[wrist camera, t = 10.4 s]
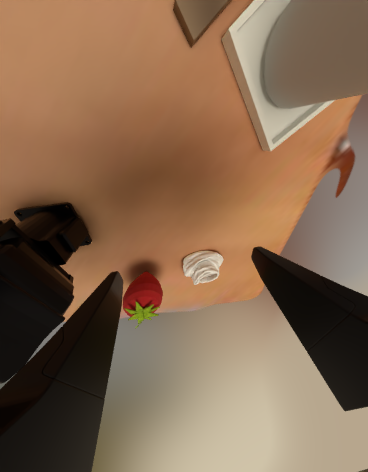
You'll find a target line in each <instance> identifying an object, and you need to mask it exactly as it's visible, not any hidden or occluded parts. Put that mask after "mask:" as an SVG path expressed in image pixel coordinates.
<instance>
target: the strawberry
mask: <svg viewBox="0 0 368 472" xmlns="http://www.w3.org/2000/svg"><path fill="white" fill-rule="evenodd" d="M162 296H163V292H162V288H161V285H160V283H159V281H158V280H157V279H156V278H155V277H154V276H153V275H152V274H150V273H149V272H144V273H142V274H141V275H140V276H138V277H137V278H136V279H135V280H134V281H133V282H132V283H131V284H130V285H129V287H128V289H127V291H126V293H125V295H124V297H123V309H124V311H125V312H126V313H127V315H129V316H130V317H131V318H129V319H128V320H133V319H138V324H139V323H141V321H143V320H144V319H149V320H151V318H149V317H152V316H158V314H155V313H154V312H155V311H156V310H157V309H158V308H160V307H159V306H160V304H161V302H162ZM137 327H138V326H137Z"/></svg>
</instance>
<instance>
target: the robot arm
mask: <svg viewBox="0 0 368 472" xmlns="http://www.w3.org/2000/svg"><path fill="white" fill-rule="evenodd" d="M66 206H68V207H69V208H67V207H66ZM19 212H20V213H21V214H20V213H19ZM14 214H15V215H16V216H17V218H18V219H19V220H20V221H21V222H20V223H18V224H17V225H15V224H16V223H15V222H14V221H13V220H12V219H11V218H9V219H6V220H2V221H1V220H0V383H4V382H6V381H7V380H9V379H10V378H11V377H12V376H13V375H14V376H13V377H12V378H11V379H10V380H9V381H8V382H7V383H6V384H5V385H4V386H3V387H2V388H1V389H0V472H91V471H92V466H93V460H94V455H95V449H96V444H97V438H98V433H99V427H100V422H101V417H102V411H103V405H104V398H105V394H106V389H107V383H108V378H109V372H110V367H111V361H112V356H113V350H114V345H115V339H116V334H117V329H118V323H119V318H120V312H121V306H122V293H123V279H122V277H121V275H120V273H119V272H118V271H115V272H111V273H110V274H109V275H108V276H107V277H106V278H105V280H104V281H103V282H102V283H101V284H100V285H99V286H98V287H97V288H96V289H95V291H94V292H93V293H92V294H91V295H90V296H89V297H88V298H87V299H86V301H85V302H84V303H83V304H82V305H81V306H80V307H79V308H78V309H77V310H76V312H75V313H74V314H73V315H72V316H71V317H70V318H69V319H68V320H67V322H66V323H65V324H64V325H63V327H61V328H60V329H59V330H58V332H56V334H55V335H54V336H53V337H52V338H51V339H50V340H49V341H48V342H47V343H46V344H45V345H44V346H43V348H41V349H40V350H39V352H37V353H36V355H35V356H34V357H33V358H32V359H31V360H30V361H29V362H27V361H28V360H29V359H30V357H31V356H32V355H33V353H34V352H35V350H36V349H37V348H38V346H39V345H40V344H41V343H42V341H43V340H44V339H45V338H46V337H47V336H48V335H49V333H51V332H52V330H54V329H55V328H56V327H57V326H58V325H59V324H60V323H62V322H63V321H64V320H65V317H63V315H64V313H65V312H66V311H67V309H68V308H69V306H70V305H71V303H72V301H73V299H74V295H72V294H73V288H74V286H73V277H72V276H71V275H69V274H68V273H67V272H66V271H65V270H63V269H62V268H61V267H60V265H64V264H66V262H67V261H68V259H69V258H70V257H71V255H72V254H73V252H76V251H77V249H78V248H79V246H84V245H89V244H91V242H92V240H91V238H90V236H89V234H88V231H87V230H86V228H85V226H84V224H83V222H82V221H81V219H80V218H79V217H78V215H77V214H76V212H75V210H74V208H73V207H72V205H71V204H70V203H60V204H52V205H45V206H38V207H30V208H23V209H18V210H16V211H15V212H14ZM87 241H89V242H87ZM251 258H252V261H253V263H254V265H255V267H256V269H257V271H258V273H259V275H260V277H261V279H262V281H263V282H264V284H265V286H266V287H267V289H268V290H269V291H270V293H271V295H272V297H273V298H274V300H275V301H276V303H277V305H278V306H279V308H280V309H281V311H282V313H283V314H284V316H285V317H286V319H287V320H288V322H289V324H290V325H291V327H292V329H293V330H294V332H295V333H296V335H297V337H298V338H299V340H300V341H301V343H302V345H303V346H304V347H305V349H306V351H307V353H308V354H309V356H310V357H311V359H312V361H313V362H314V364H315V365H316V367H317V369H318V370H319V372H320V373H321V375H322V376H323V378H324V380H325V381H326V383H327V385H328V386H329V388H330V389H331V391H332V393H333V394H334V396H335V397H336V399H337V401H338V402H339V404H340V405H341V407H342V408H343V410H344V411H349V410H354V409H359V408H364V407H368V296H365V295H363V294H361V293H359V292H356V291H354V290H352V289H349V288H347V287H345V286H342V285H340V284H338V283H336V282H334V281H331V280H329V279H327V278H325V277H323V276H320V275H319V274H316V273H315V272H313V271H310V270H308V269H306V268H304V267H302V266H299V265H298V264H296V263H294V262H291V261H290V260H287V259H285V258H283V257H281V256H279V255H277V254H275V253H273V252H271V251H269V250H267V249H265V248H262V247H254V248H253V252H252V256H251ZM359 472H368V469H366V470H362V471H359Z"/></svg>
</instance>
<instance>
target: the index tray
mask: <svg viewBox="0 0 368 472" xmlns="http://www.w3.org/2000/svg"><path fill="white" fill-rule="evenodd" d="M290 1H291V0H254V1H253V2H252V3H251V4H250V5H249V7H248V8H247V9H246V10H245V11H244V12H243V13H242V14H241V16H240V17H239V18H238V19H237V20H236V21H235V22H234V23H233V24H232V26H231V27H230V28H229V29H228V30H227V32H226V33H225V35H224V36H223V38H222V39H221V40H222V43H223V45H224V48H225V51H226V53H227V56H228V59H229V61H230V64H231V67H232V69H233V72H234V75H235V77H236V80H237V83H238V85H239V88H240V91H241V94H242V96H243V99H244V102H245V104H246V107H247V110H248V112H249V115H250V118H251V120H252V123H253V126H254V128H255V131H256V134H257V136H258V139H259V142H260V144H261V147H262V150H264V151H272V150H273V149H274V148H276V147H277V146H278V145H279V144H281V143H282V142H283V141H284V140H286V139H287V138H288V137H289V136H291V135H292V134H293V133H294V132H296V131H297V130H298V129H299V128H301V127H302V126H303V125H304V124H306V123H307V122H308V121H310V120H311V119H312V118H313V117H315V116H316V115H317V114H318V113H320V112H321V111H322V110H323V109H325V108H326V107H327V106H328V105H330V104H331V103H332V102H333V101H335V100H332V101H327V102H322V103H317V104H312V105H307V106H302V107H297V108H292V109H287V108H280V107H279V106H277V105H276V104H275V103H273V102H272V100H271V98H270V96H269V94H268V93H267V90H266V84H265V79H264V70H265V57H266V53H267V49H268V45H269V41H270V37H271V35H272V33H273V30H274V28H275V26H276V24H277V21H278V19H279V17H280V15H281V14H282V12H283V11H284V10H285V8H286V7H287V5H288V4H289V3H290Z"/></svg>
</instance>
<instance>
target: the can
mask: <svg viewBox="0 0 368 472" xmlns="http://www.w3.org/2000/svg"><path fill="white" fill-rule="evenodd" d="M264 79H265V84H266V90H267V93H268V94H269V96H270V98H271V100H272V102H273V103H275V104H276V105H277V106H279V107H280V108H287V109H292V108H297V107H302V106H307V105H312V104H317V103H322V102H327V101H332V100H337V99H342V98H347V97H352V96H357V95H362V94H367V93H368V0H291V1H290V3H289V4H288V5H287V7H286V8H285V10H284V11H283V12H282V14H281V15H280V17H279V19H278V21H277V24H276V26H275V28H274V30H273V33H272V35H271V37H270V41H269V45H268V49H267V53H266V57H265V70H264Z"/></svg>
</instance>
